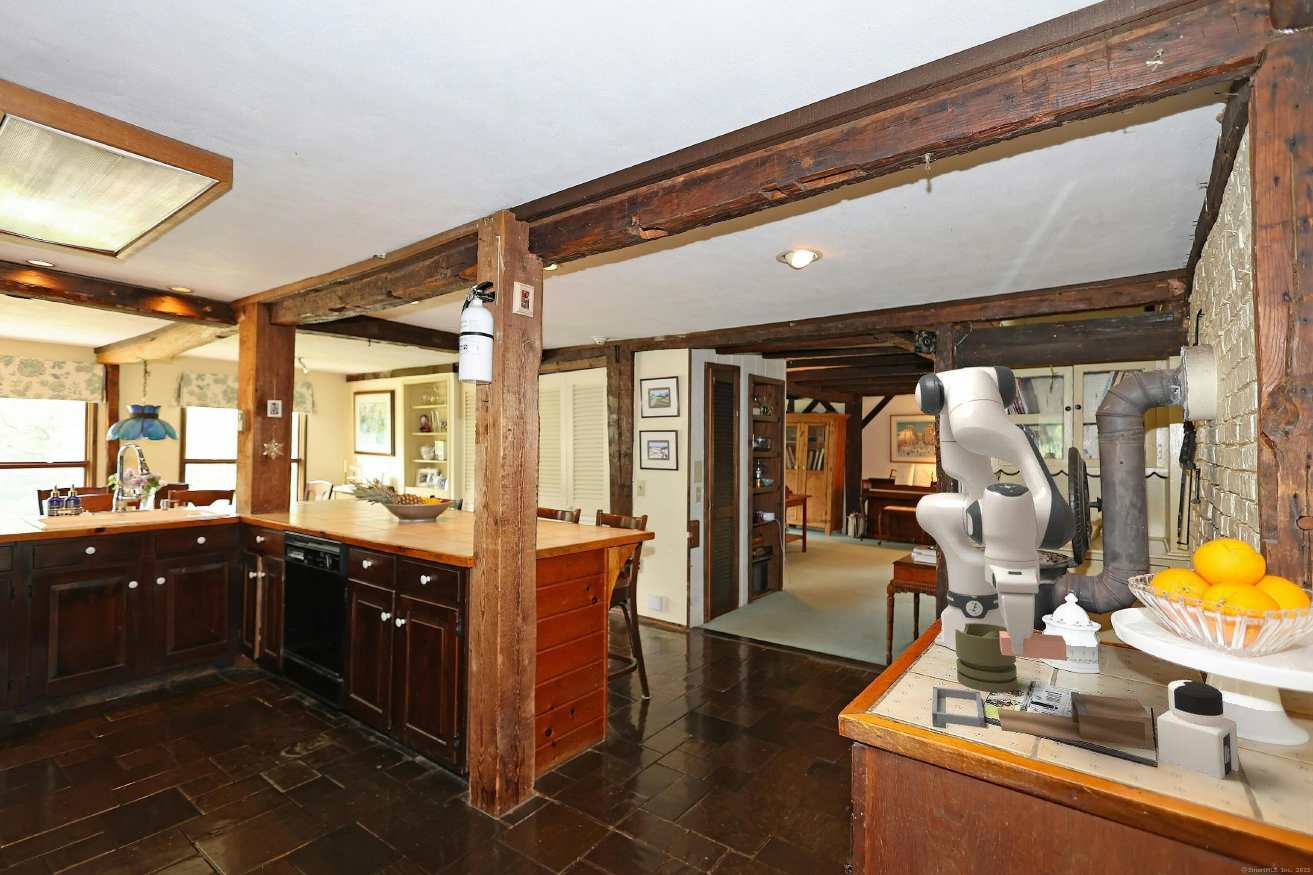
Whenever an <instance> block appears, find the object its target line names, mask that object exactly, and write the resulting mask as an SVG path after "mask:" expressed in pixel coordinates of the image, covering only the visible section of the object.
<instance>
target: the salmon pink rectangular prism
mask: <svg viewBox="0 0 1313 875" xmlns="http://www.w3.org/2000/svg"><path fill="white" fill-rule="evenodd" d="M999 634H1000V649H1001V653H1002V655H1007V656H1016V657H1020V658H1031V659H1032V658H1033V659H1044V660H1055V661H1067V659H1068V658H1067V642H1066V640H1065V638H1064V637H1063V635H1057V634H1046V633H1045V634H1044V633H1033V634H1032V637H1031V638H1024V642H1023V654H1014V653H1012V650H1011V637H1010V636H1009V635H1008V632H1005V631H999Z"/></svg>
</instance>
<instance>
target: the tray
mask: <svg viewBox="0 0 1313 875" xmlns="http://www.w3.org/2000/svg"><path fill="white" fill-rule="evenodd" d="M946 698H954V699H963V700H971V701H975V702H976V709H977V716H973V715H967V714H966V715H964V714H957V713H949V712H947V702H946V700H947V699H946ZM931 703H932V706H931V708H932V710H931V716H932V717H931V718H932V726H933V727H937V728H943V729H944V728H947V724H955V725H961V726H962V725H963V726H970V727H976V728H983V729H984V728H986V727H985V725H986V724H985V715H984V708H983V702H982V695H981V691H977V690H976V691H975V690H965V689H957V688H949V687H940V686H939V687H938V686H932V702H931Z"/></svg>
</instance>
